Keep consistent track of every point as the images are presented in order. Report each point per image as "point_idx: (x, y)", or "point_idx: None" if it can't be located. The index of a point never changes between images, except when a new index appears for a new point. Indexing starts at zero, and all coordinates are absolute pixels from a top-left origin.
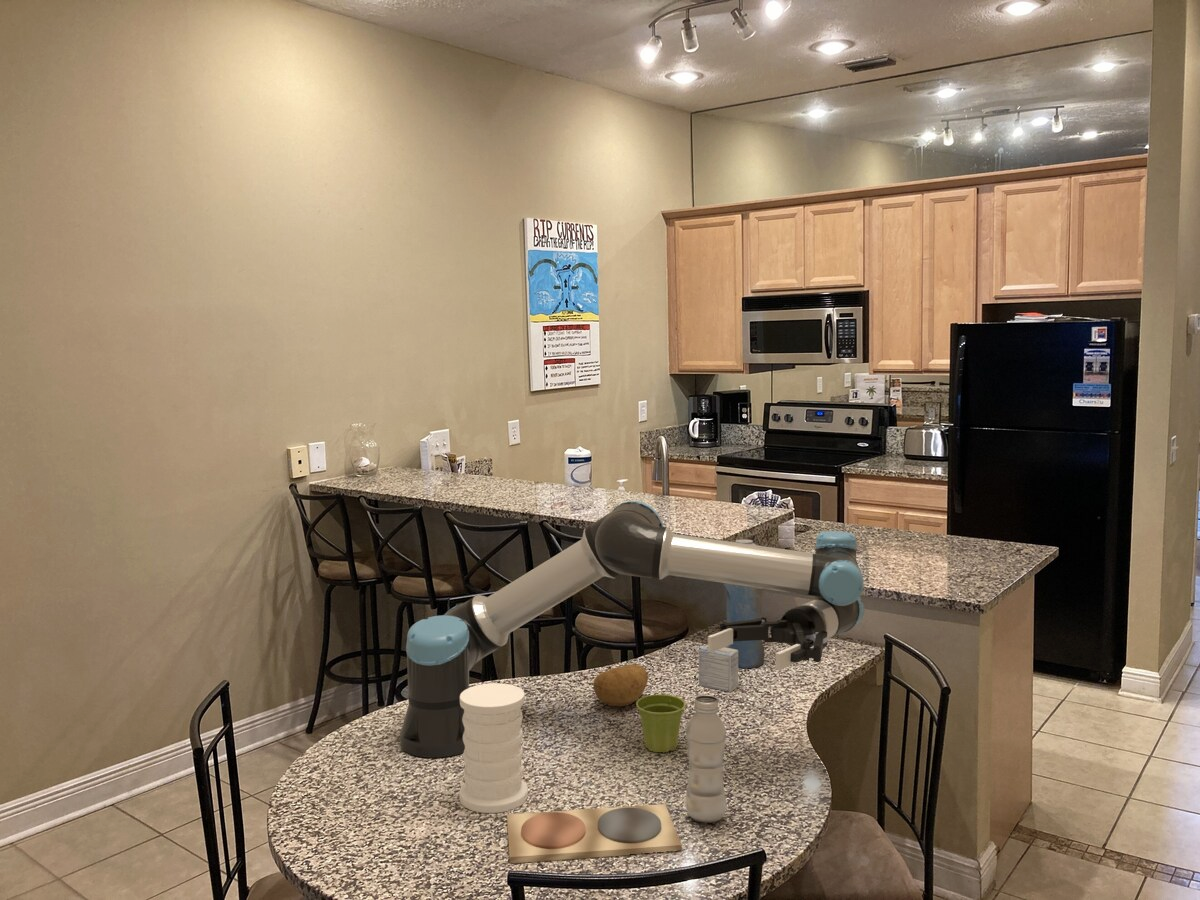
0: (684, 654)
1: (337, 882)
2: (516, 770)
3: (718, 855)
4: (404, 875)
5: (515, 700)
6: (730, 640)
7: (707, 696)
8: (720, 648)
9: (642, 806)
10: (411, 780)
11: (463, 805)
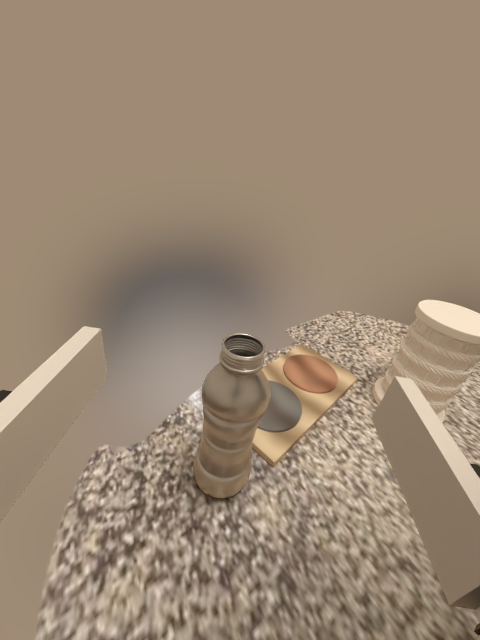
0: None
1: (343, 314)
2: None
3: (172, 416)
4: (329, 325)
5: (429, 314)
6: (446, 557)
7: (252, 357)
8: (394, 471)
9: (289, 443)
10: (469, 392)
11: None
